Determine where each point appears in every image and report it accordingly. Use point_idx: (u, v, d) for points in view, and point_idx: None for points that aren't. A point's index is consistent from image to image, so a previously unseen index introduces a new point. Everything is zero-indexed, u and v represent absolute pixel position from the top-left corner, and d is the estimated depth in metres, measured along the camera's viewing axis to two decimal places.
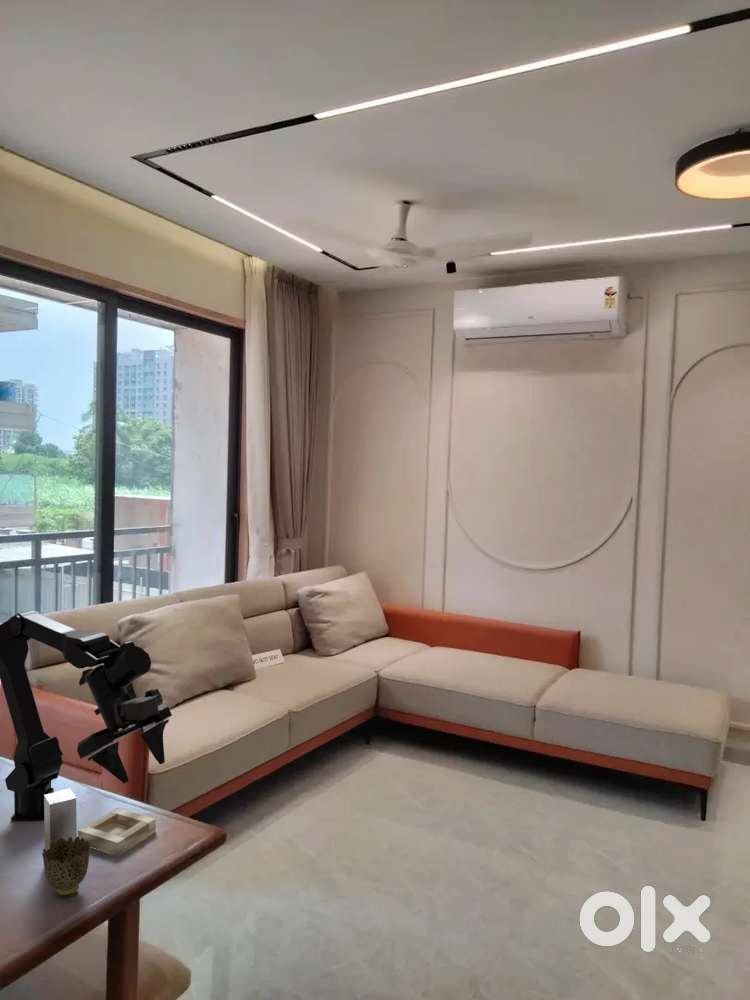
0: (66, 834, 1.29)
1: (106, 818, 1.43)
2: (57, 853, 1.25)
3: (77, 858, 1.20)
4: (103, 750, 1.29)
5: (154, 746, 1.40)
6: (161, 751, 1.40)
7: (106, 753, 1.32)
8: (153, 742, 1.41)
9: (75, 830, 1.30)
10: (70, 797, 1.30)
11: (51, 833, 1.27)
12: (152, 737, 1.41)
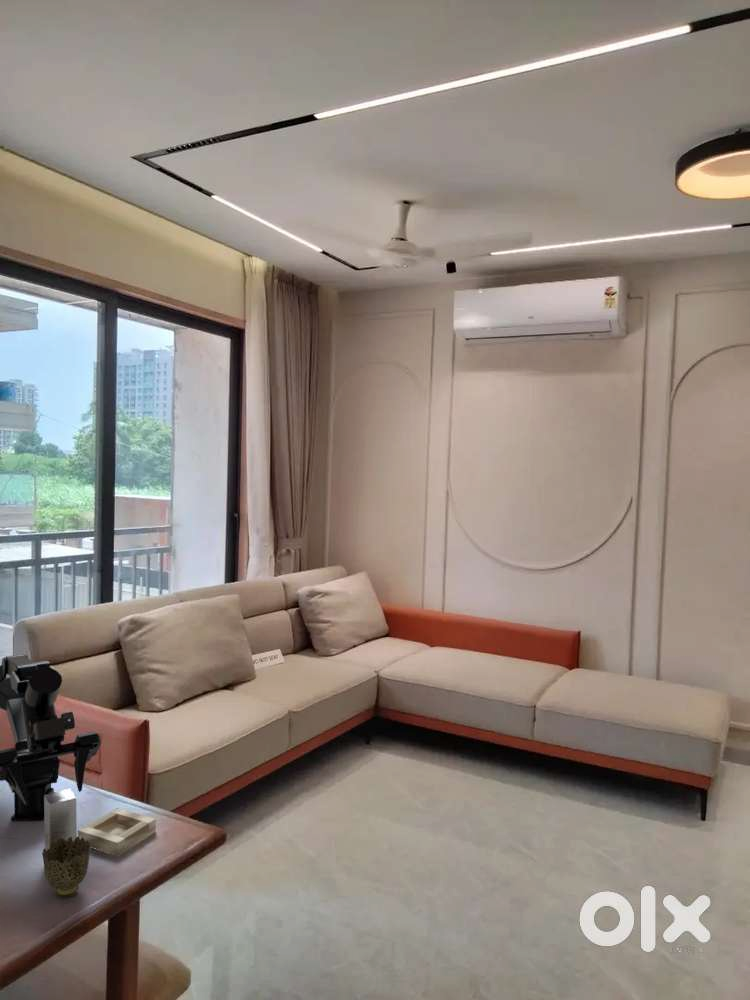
0: (66, 834, 1.29)
1: (106, 818, 1.43)
2: (57, 853, 1.25)
3: (77, 858, 1.20)
4: (1, 768, 1.31)
5: (77, 773, 1.39)
6: (80, 778, 1.37)
7: None
8: (77, 769, 1.39)
9: (75, 830, 1.30)
10: (70, 797, 1.30)
11: (51, 833, 1.27)
12: (77, 763, 1.39)
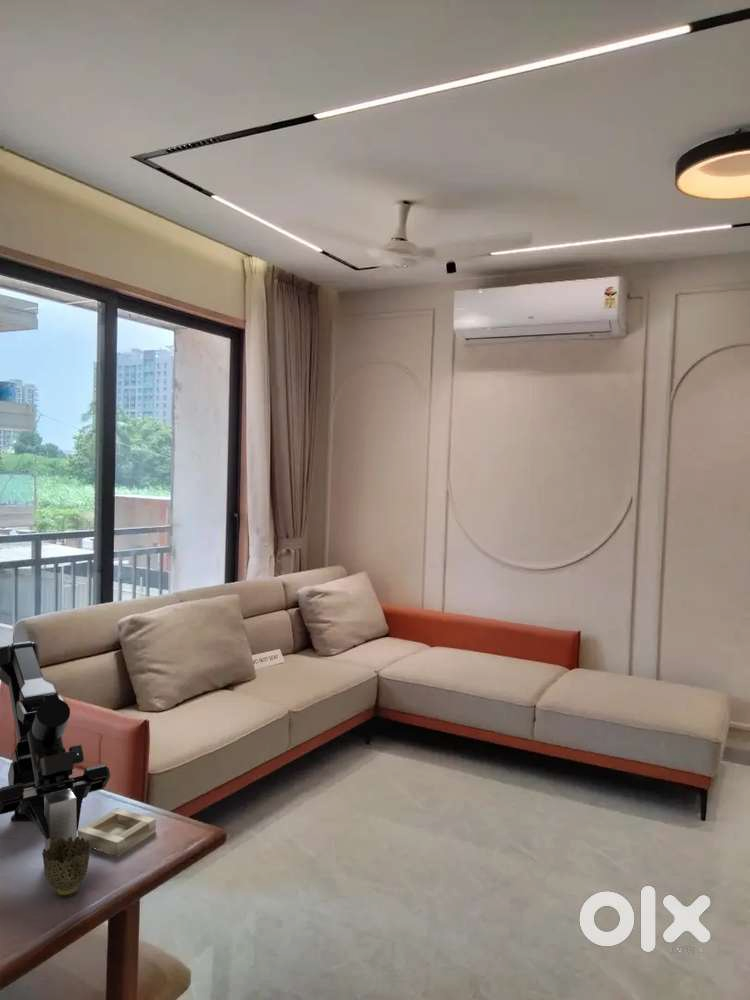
0: (66, 834, 1.29)
1: (106, 818, 1.43)
2: (57, 853, 1.25)
3: (77, 858, 1.20)
4: (22, 801, 1.28)
5: None
6: (76, 817, 1.31)
7: None
8: None
9: (75, 830, 1.30)
10: (70, 797, 1.30)
11: (51, 833, 1.27)
12: None
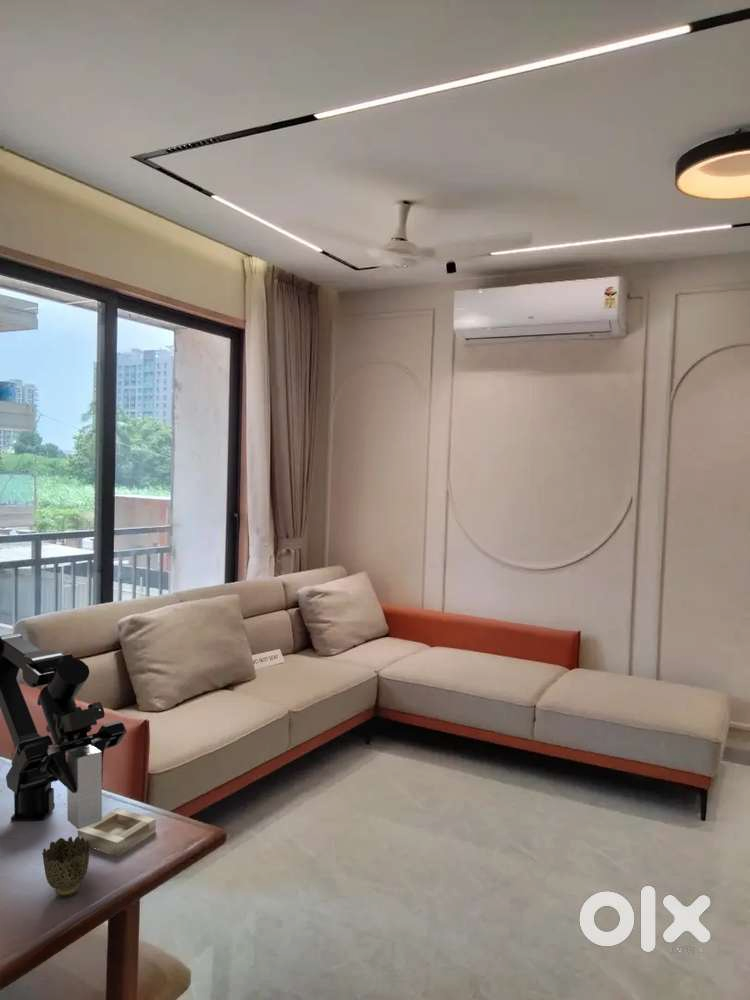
0: (92, 786, 1.32)
1: (106, 818, 1.43)
2: (57, 853, 1.25)
3: (77, 858, 1.20)
4: (47, 758, 1.30)
5: None
6: None
7: None
8: None
9: (100, 783, 1.33)
10: (95, 751, 1.33)
11: (79, 786, 1.30)
12: None
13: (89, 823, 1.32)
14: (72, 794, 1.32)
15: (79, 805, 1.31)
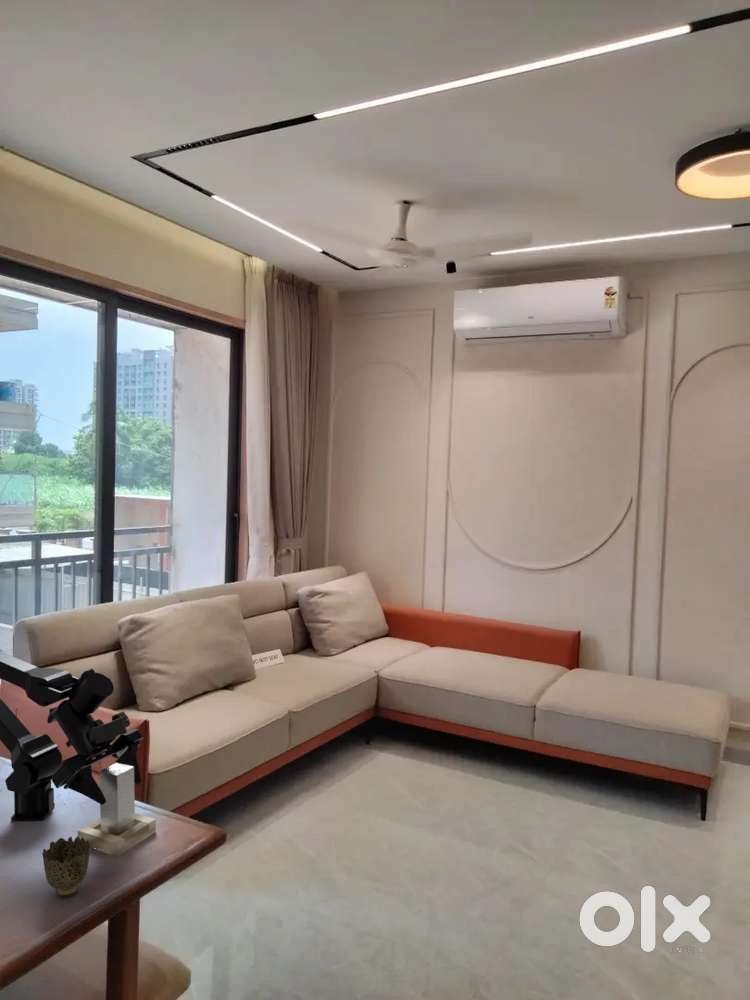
0: (128, 801, 1.40)
1: None
2: (57, 853, 1.25)
3: (77, 858, 1.20)
4: (76, 774, 1.34)
5: None
6: (136, 772, 1.45)
7: (81, 779, 1.36)
8: None
9: (133, 796, 1.41)
10: (127, 767, 1.41)
11: (118, 802, 1.38)
12: (126, 760, 1.46)
13: None
14: (108, 811, 1.39)
15: (119, 819, 1.38)
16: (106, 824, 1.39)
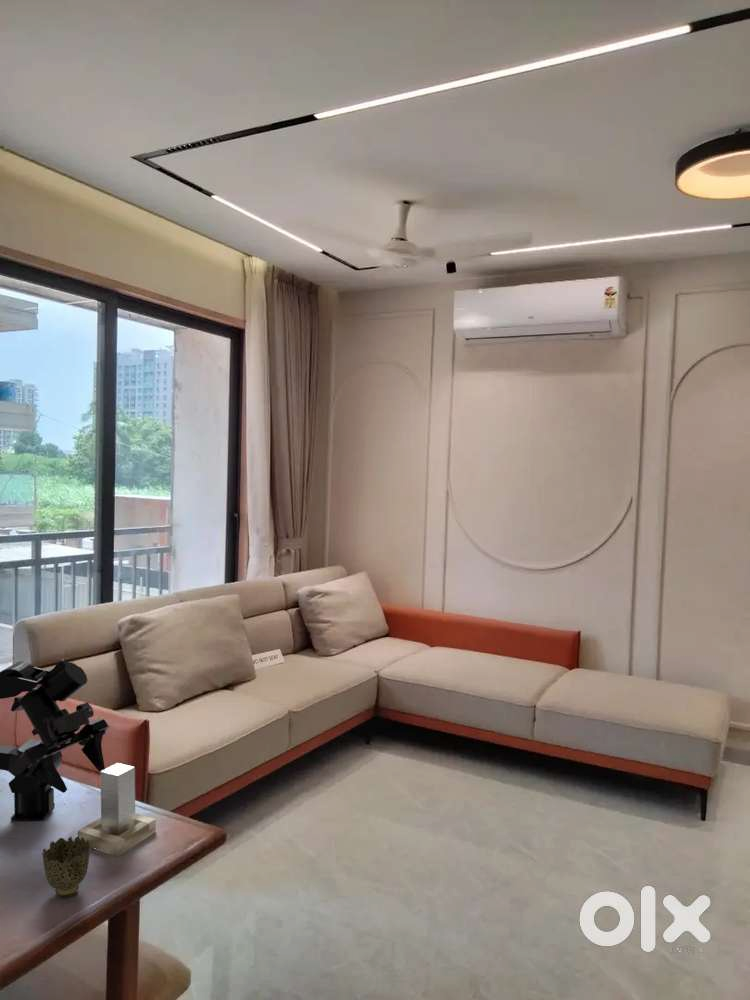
0: (128, 801, 1.40)
1: None
2: (57, 853, 1.25)
3: (77, 858, 1.20)
4: (37, 763, 1.38)
5: (94, 757, 1.49)
6: (100, 761, 1.48)
7: (43, 767, 1.41)
8: (92, 753, 1.49)
9: (134, 797, 1.41)
10: (128, 768, 1.41)
11: (119, 802, 1.38)
12: (91, 749, 1.50)
13: None
14: (109, 811, 1.39)
15: (119, 820, 1.38)
16: (107, 824, 1.39)
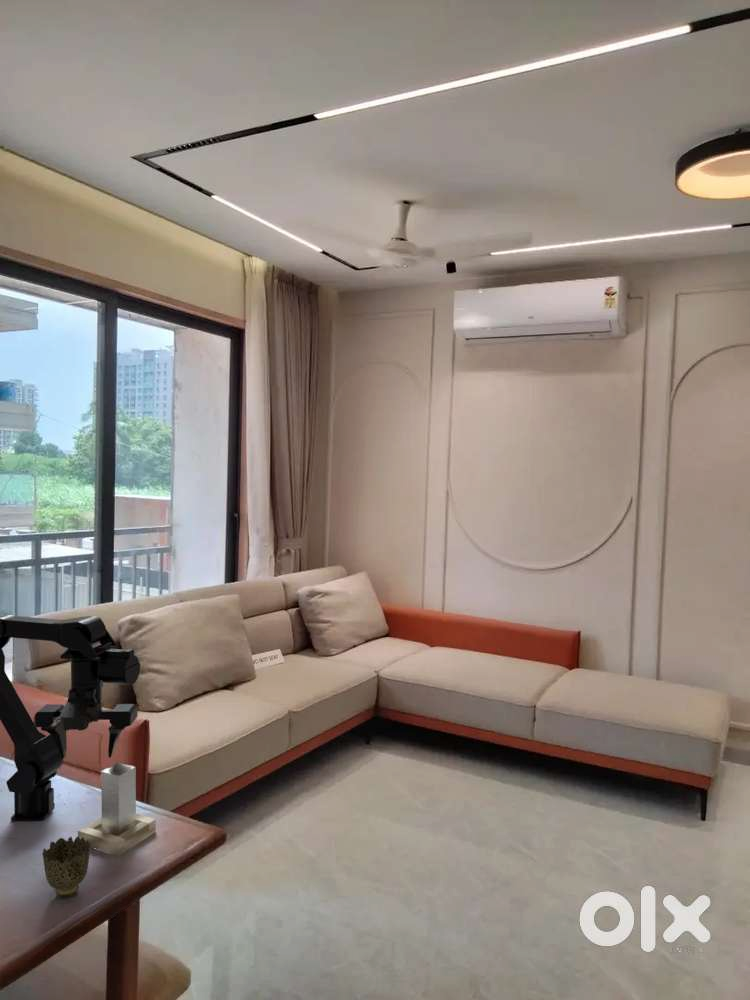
0: (129, 801, 1.40)
1: None
2: (57, 853, 1.25)
3: (77, 858, 1.20)
4: None
5: None
6: (110, 748, 1.46)
7: None
8: None
9: (135, 797, 1.41)
10: (129, 768, 1.41)
11: (119, 802, 1.38)
12: None
13: None
14: (109, 811, 1.39)
15: (120, 820, 1.38)
16: (107, 824, 1.39)
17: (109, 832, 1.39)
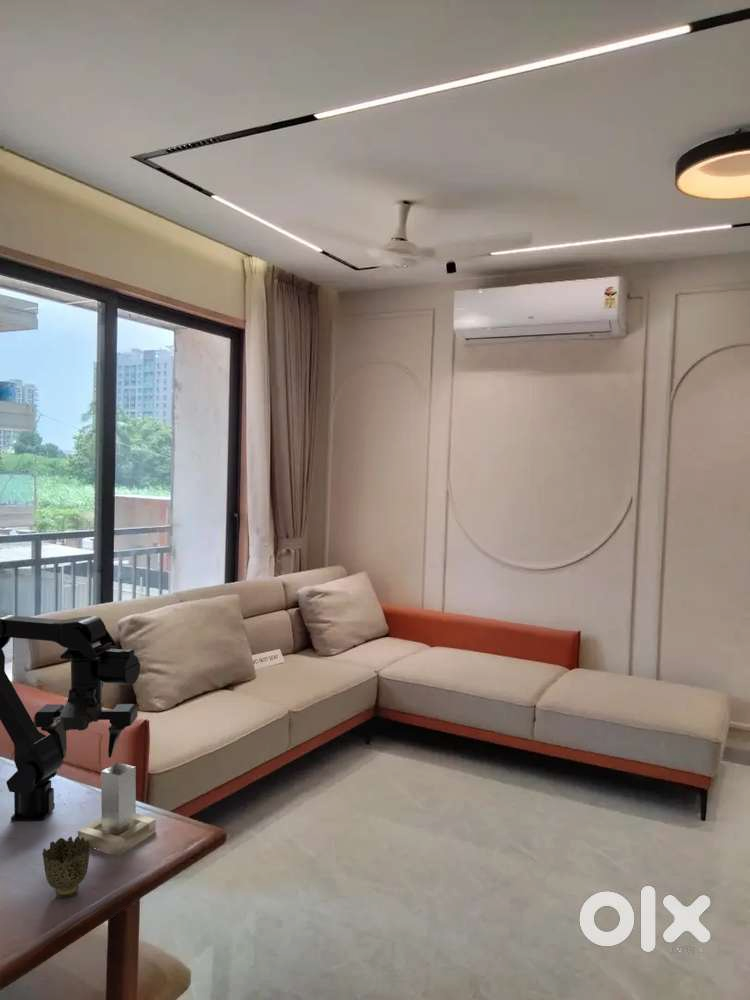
0: (129, 801, 1.40)
1: None
2: (57, 853, 1.25)
3: (77, 858, 1.20)
4: None
5: None
6: (110, 748, 1.46)
7: None
8: None
9: (135, 797, 1.42)
10: (129, 767, 1.41)
11: (119, 802, 1.38)
12: None
13: None
14: (109, 811, 1.39)
15: (120, 820, 1.38)
16: (107, 824, 1.39)
17: (109, 832, 1.39)
